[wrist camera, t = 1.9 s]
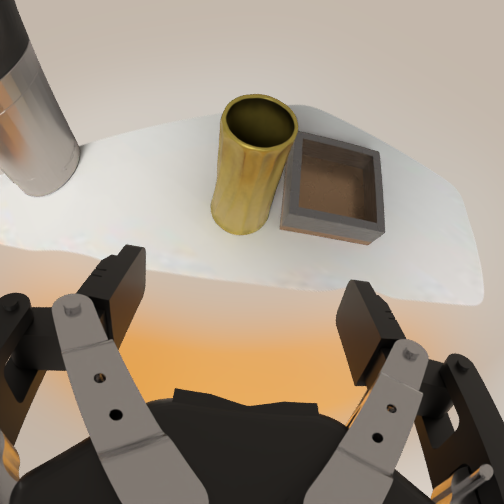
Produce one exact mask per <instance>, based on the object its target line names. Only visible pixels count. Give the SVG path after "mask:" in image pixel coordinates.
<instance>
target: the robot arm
mask: <svg viewBox="0 0 504 504" xmlns="http://www.w3.org/2000/svg"><path fill="white" fill-rule="evenodd" d="M79 155H80V151H79V146H78V144H77V141H76V139H75V137H74V135H73V134H72V132H71V130H70V128H69V126H68V123H67V121H66V119H65V117H64V115H63V113H62V111H61V109H60V107H59V105H58V103H57V101H56V99H55V97H54V95H53V92H52V90H51V88H50V86H49V84H48V81H47V79H46V77H45V75H44V73H43V70H42V68H41V66H40V63H39V61H38V59H37V56H36V54H35V52H34V49H33V47H32V44H31V42H30V40H29V37H28V34H27V32H26V30H25V27H24V25H23V22H22V20H21V17H20V15H19V12H18V10H17V7H16V4H15V1H14V0H0V169H1V170H2V171H3V172H4V173H5V174H6V176H7V177H8V178H9V179H10V180H11V181H12V182H13V183H16V185H17V186H18V187H19V188H20V189H21V190H22V191H23V192H24V193H26V194H27V195H30V196H34V197H40V196H45V195H48V194H51V193H52V192H54V191H56V190H58V189H59V188H60V187H61V186H63V185H64V184H65V183H66V182H67V181H68V180H69V178H70V177H71V175H72V174H73V173H74V171H75V169H76V167H77V164H78V161H79ZM145 272H146V251H145V248H144V247H139V246H133V245H125V246H124V247H123V249H122V250H121V251H120V253H119V254H118V255H117V256H116V255H110V256H108V257H107V258H105V259H103V260H101V262H100V263H99V264H98V265H97V267H96V269H94V271H93V272H92V273H91V275H90V276H89V277H88V278H87V280H86V281H85V282H84V283H83V285H82V286H81V287H80V289H79V290H78V291H77V293H76V294H68V295H64V296H62V297H60V298H58V299H57V300H56V301H55V302H54V303H53V306H52V307H45V308H44V307H31V303H30V300H29V298H28V297H27V296H26V295H24V294H21V293H10V294H7V295H4V296H3V297H1V298H0V504H504V422H503V420H502V418H501V416H500V414H499V412H498V410H497V408H496V406H495V404H494V402H493V400H492V398H491V396H490V394H489V392H488V390H487V388H486V386H485V384H484V382H483V380H482V379H481V377H480V375H479V373H478V371H477V369H476V368H475V366H474V364H473V363H472V362H471V361H470V360H469V359H468V358H466V357H465V356H463V355H460V354H451V355H449V356H448V357H447V359H446V360H445V362H444V363H441V362H438V361H434V360H430V359H428V354H427V352H426V351H425V349H424V348H423V347H422V346H421V345H419V344H418V343H416V342H414V341H412V340H408V339H406V337H405V335H404V333H403V332H402V330H401V328H400V326H399V324H398V322H397V320H395V317H394V315H393V313H391V310H390V308H389V306H388V304H387V303H386V302H385V301H384V300H383V299H382V298H381V297H380V296H379V295H376V293H375V292H374V290H373V288H372V286H371V284H370V283H369V282H365V281H358V280H350V281H349V283H348V285H347V287H346V290H345V293H344V296H343V298H342V300H341V303H340V306H339V308H338V311H337V315H336V326H337V329H338V333H339V336H340V339H341V342H342V345H343V348H344V352H345V355H346V358H347V361H348V364H349V368H350V371H351V375H352V378H353V381H354V385H355V386H367V391H366V393H365V394H364V396H363V397H362V399H361V401H360V403H359V404H358V406H357V407H356V409H355V411H354V412H353V414H352V416H351V417H350V419H349V420H348V422H347V424H346V425H343V424H342V423H340V422H339V421H337V420H335V419H333V418H330V417H328V416H325V415H322V414H319V412H318V406H317V403H297V402H279V403H271V404H263V405H256V406H246V405H242V404H239V403H236V402H233V401H230V400H227V399H224V398H221V397H218V396H215V395H212V394H207V393H200V392H194V391H188V390H182V389H176V388H175V391H174V396H173V398H167V399H159V400H155V401H150V402H148V403H145V401H144V399H143V398H142V396H141V394H140V392H139V390H138V388H137V387H136V385H135V383H134V381H133V379H132V377H131V375H130V373H129V371H128V369H127V367H126V365H125V363H124V361H123V360H122V357H121V355H120V353H119V351H118V350H119V347H120V345H121V343H122V341H123V339H124V336H125V334H126V332H127V330H128V328H129V325H130V323H131V321H132V319H133V317H134V314H135V313H136V310H137V308H138V306H139V304H140V302H141V300H142V298H143V294H144V291H145V275H146V273H145ZM10 356H11V357H10ZM9 357H10V358H9ZM8 359H9V360H8ZM7 361H8V362H7ZM6 362H7V363H6ZM5 364H6V365H5ZM47 370H56V371H67V374H68V377H69V380H70V383H71V386H72V389H73V392H74V395H75V398H76V401H77V404H78V407H79V410H80V412H81V415H82V418H83V420H84V423H85V425H86V428H87V430H88V433H89V435H90V436H89V437H88V438H86V439H85V440H83V441H82V442H80V443H78V444H76V445H75V446H73V447H71V448H69V449H68V450H66V451H64V452H63V453H61V454H59V455H58V456H56V457H54V458H53V459H51V460H49V461H47V462H45V463H44V464H42V465H40V466H38V467H36V468H35V469H33V470H31V471H29V472H28V473H26V474H25V475H24V476H22V477H21V478H19V466H20V458H19V454H18V452H17V450H16V449H15V447H14V445H15V442H16V439H17V437H18V434H19V432H20V429H21V427H22V424H23V422H24V420H25V417H26V415H27V413H28V410H29V408H30V406H31V403H32V401H33V399H34V397H35V395H36V392H37V390H38V388H39V386H40V384H41V382H42V380H43V377H44V375H45V373H46V371H47ZM453 405H454V406H455V409H456V411H457V414H458V416H459V426H458V428H457V430H456V431H454V429H453V426H452V423H451V421H450V418H449V416H448V413H447V412H448V411H449V410H450V408H451V407H452V406H453ZM413 423H415V426H416V430H417V433H418V436H419V440H420V443H421V446H422V450H423V453H424V457H425V461H426V464H427V468H428V472H429V476H430V480H431V483H432V488H433V492H432V495H431V499H430V498H429V497H428V496H426V495H425V494H424V493H423V492H422V491H420V490H419V489H418V488H417V487H416V486H414V485H413V484H412V483H411V482H410V481H408V480H407V479H406V478H405V477H404V476H402V475H401V474H400V473H399V472H398V471H396V470H395V467H396V465H397V462H398V460H399V458H400V456H401V453H402V451H403V448H404V445H405V443H406V441H407V438H408V436H409V433H410V431H411V428H412V425H413Z"/></svg>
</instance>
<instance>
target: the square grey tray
mask: <svg viewBox="0 0 504 504" xmlns="http://www.w3.org/2000/svg"><path fill="white" fill-rule="evenodd" d="M280 229H281V230H286V231H292V232H298V233H304V234H309V235H315V236H320V237H326V238H331V239H337V240H342V241H348V242H353V243H358V244H364V245H369V244H370V243H372V242H373V241H374V240H376V239H377V238H379V237H380V236H381V235H383V234H384V233H385V221H384V202H383V187H382V174H381V164H380V154H379V152H378V151H374V150H371V149H367V148H364V147H360V146H357V145H353V144H349V143H346V142H342V141H338V140H334V139H330V138H326V137H322V136H318V135H313V134H309V133H305V132H300V131H298V133H297V136H296V138H295V140H294V143H293V145H292V147H291V150H290V153H289V155H288V158H287V161H286V169H285V180H284V191H283V201H282V212H281V222H280Z"/></svg>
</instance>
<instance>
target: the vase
mask: <svg viewBox="0 0 504 504" xmlns="http://www.w3.org/2000/svg"><path fill="white" fill-rule="evenodd" d="M297 133H298V122H297V119H296V116H295V114H294V113H293V111H292V110H291V109H290V108H289V107H288V106H287V105H285V104H284V103H282V102H281V101H279V100H277V99H275V98H273V97H270V96H267V95H262V94H250V95H243V96H240V97H237V98H235V99H234V100H232V101H231V102H230V103H229V104H228V105H227V106H226V108H225V110H224V112H223V114H222V117H221V121H220V135H219V150H218V162H217V182H216V187H215V191H214V195H213V199H212V202H211V213H212V217H213V219H214V220H215V222H216V223H217V224H218V225H219V226H220V227H221V228H222V229H223V230H225V231H227V232H229V233H231V234H235V235H247V234H251V233H254V232H256V231H257V230H259V229H260V228H261V227H262V226H263V225H264V224H265V222H266V221H267V219H268V215H269V210H270V207H271V204H272V201H273V198H274V194H275V191H276V188H277V185H278V183H279V180H280V178H281V175H282V172H283V169H284V166H285V163H286V161H287V158H288V155H289V153H290V150H291V147H292V145H293V143H294V140H295V138H296V136H297Z"/></svg>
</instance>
